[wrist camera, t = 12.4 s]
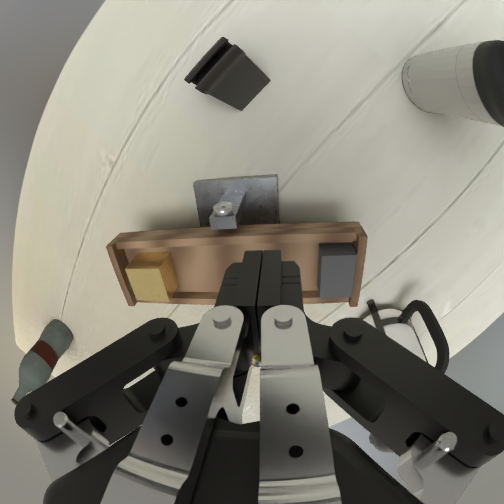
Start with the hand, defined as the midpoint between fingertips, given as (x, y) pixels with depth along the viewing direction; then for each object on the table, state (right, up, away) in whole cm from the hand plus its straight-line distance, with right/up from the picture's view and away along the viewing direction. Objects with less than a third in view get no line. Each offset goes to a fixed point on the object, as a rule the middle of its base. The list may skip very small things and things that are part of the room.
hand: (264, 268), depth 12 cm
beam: (-3, 0, +24) cm, 25 cm away
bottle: (-57, -22, +53) cm, 81 cm away
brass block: (-13, -2, +24) cm, 28 cm away
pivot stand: (-2, +4, +32) cm, 32 cm away
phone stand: (-3, +25, +20) cm, 32 cm away
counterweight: (+10, -1, +21) cm, 23 cm away
